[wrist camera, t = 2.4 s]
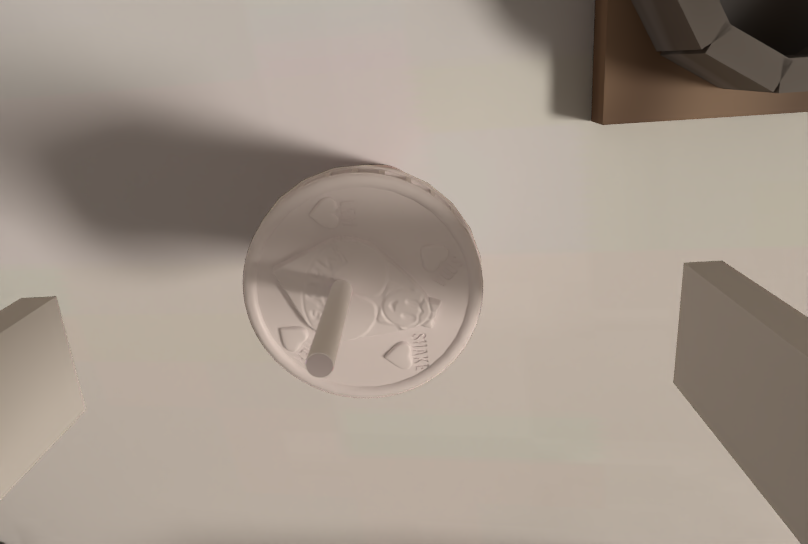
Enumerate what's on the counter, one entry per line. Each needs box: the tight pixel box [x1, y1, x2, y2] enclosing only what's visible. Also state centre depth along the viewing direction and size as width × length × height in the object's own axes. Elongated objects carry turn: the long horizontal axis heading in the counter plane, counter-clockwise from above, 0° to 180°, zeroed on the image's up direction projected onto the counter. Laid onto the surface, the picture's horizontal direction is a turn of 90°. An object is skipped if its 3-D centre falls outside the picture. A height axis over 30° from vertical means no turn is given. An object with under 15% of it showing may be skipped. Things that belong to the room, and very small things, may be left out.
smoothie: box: [243, 165, 483, 398], centre depth 19 cm, size 6×6×14 cm
